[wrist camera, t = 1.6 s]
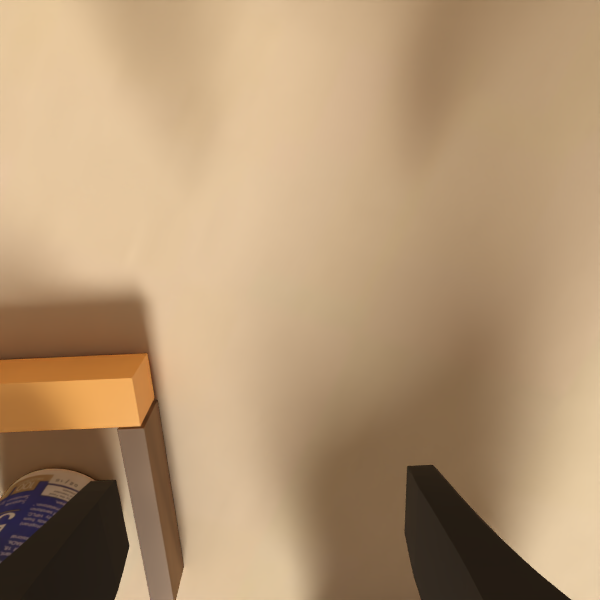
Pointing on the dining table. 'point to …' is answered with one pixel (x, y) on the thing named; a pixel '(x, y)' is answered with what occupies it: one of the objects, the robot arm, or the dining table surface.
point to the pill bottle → (34, 504)
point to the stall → (153, 504)
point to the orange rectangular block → (74, 392)
